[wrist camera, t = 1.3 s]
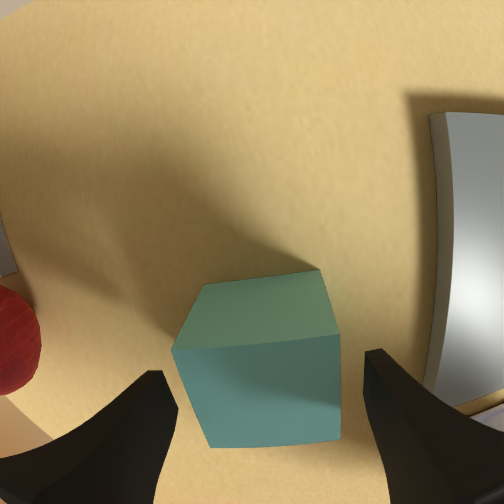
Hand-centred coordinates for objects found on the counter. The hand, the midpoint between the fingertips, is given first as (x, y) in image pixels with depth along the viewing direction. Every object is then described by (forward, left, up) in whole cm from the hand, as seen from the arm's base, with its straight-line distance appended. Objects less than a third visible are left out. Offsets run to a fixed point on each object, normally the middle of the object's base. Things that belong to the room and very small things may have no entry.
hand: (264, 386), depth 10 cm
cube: (0, 0, -4) cm, 4 cm away
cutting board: (+1, -15, -4) cm, 16 cm away
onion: (+2, +14, -4) cm, 15 cm away
